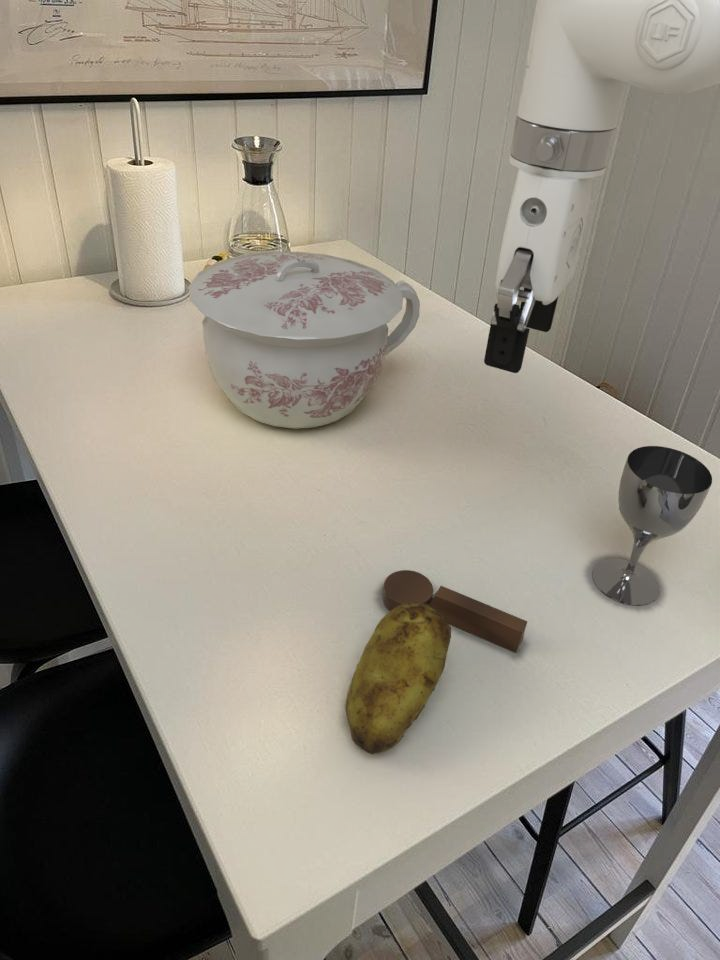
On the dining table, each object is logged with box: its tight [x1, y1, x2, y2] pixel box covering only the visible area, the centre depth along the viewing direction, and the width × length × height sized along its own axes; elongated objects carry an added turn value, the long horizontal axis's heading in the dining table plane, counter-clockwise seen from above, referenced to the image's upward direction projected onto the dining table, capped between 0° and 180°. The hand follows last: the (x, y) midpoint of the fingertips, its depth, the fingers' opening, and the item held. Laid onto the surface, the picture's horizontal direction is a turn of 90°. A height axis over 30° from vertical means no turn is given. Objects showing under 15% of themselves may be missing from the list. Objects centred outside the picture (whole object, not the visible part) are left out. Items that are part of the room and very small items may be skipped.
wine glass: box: [591, 445, 713, 606], centre depth 77 cm, size 8×8×15 cm
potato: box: [345, 602, 452, 755], centre depth 64 cm, size 8×13×8 cm, turn 137°
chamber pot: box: [188, 251, 421, 430], centre depth 100 cm, size 28×28×21 cm
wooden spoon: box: [382, 569, 528, 654], centre depth 74 cm, size 14×5×3 cm, turn 62°
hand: (518, 346), depth 69 cm, fingers open, 9 cm apart
